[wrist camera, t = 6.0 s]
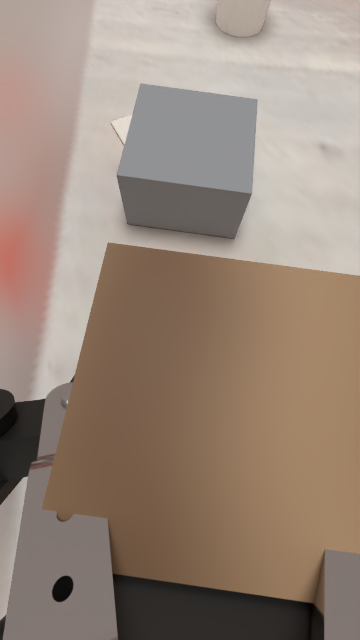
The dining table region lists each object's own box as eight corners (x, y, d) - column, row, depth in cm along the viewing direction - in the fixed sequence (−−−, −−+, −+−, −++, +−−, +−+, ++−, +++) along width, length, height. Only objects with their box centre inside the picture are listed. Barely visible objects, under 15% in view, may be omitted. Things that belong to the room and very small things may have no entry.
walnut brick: (240, 362, 16) (370, 277, 6) (233, 463, 14) (400, 616, 4) (149, 349, 16) (107, 242, 6) (132, 449, 14) (29, 561, 4)
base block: (240, 157, 25) (257, 99, 21) (234, 238, 23) (251, 193, 18) (145, 144, 26) (140, 83, 21) (127, 223, 23) (116, 174, 18)
